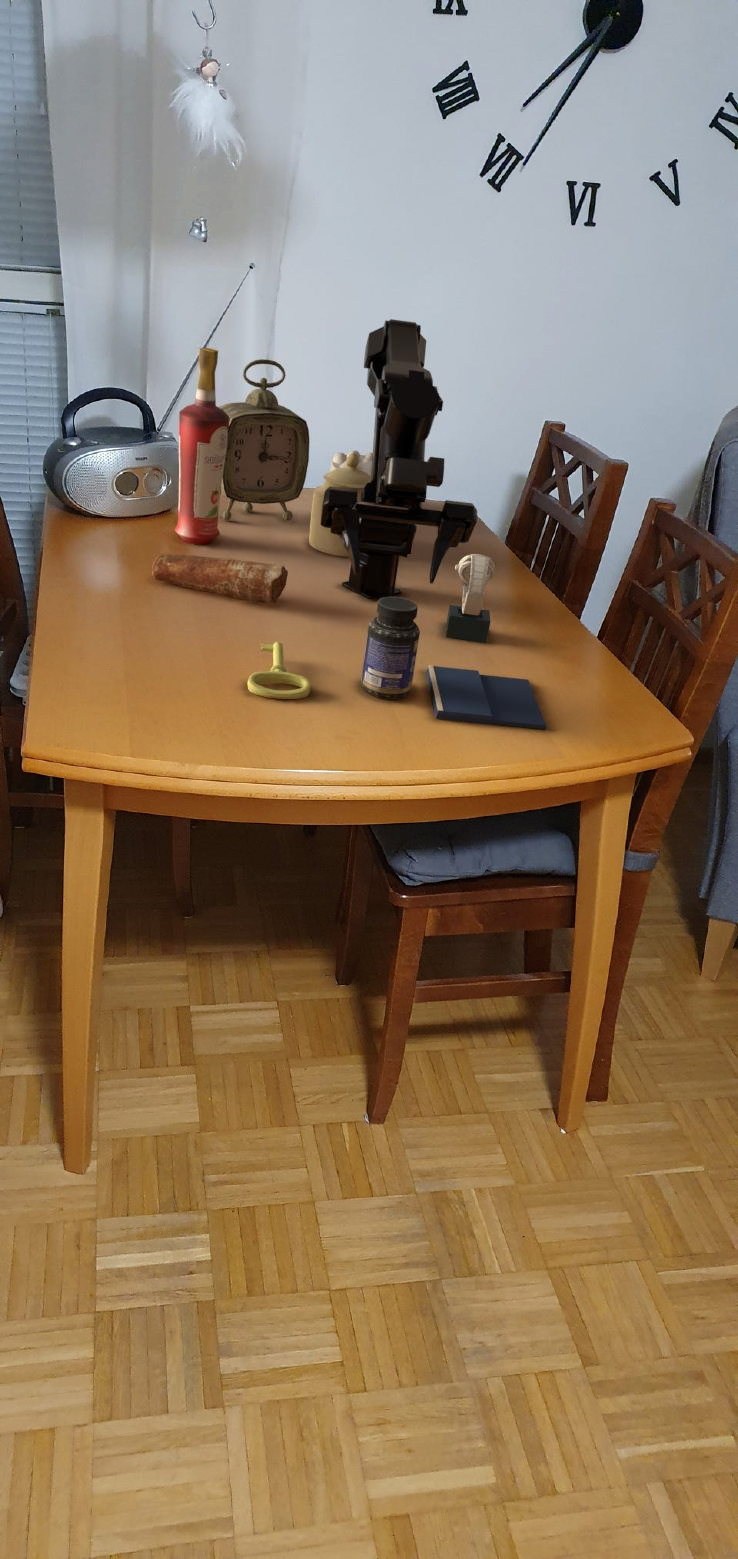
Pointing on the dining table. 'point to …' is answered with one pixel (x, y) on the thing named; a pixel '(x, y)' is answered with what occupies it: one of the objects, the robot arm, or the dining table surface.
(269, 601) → the brown rough cylinder
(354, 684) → the dining table surface
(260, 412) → the tabletop clock
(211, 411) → the liquor
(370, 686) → the pill bottle
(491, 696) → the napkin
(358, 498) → the sugar bowl
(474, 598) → the watch
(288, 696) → the key
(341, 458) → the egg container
